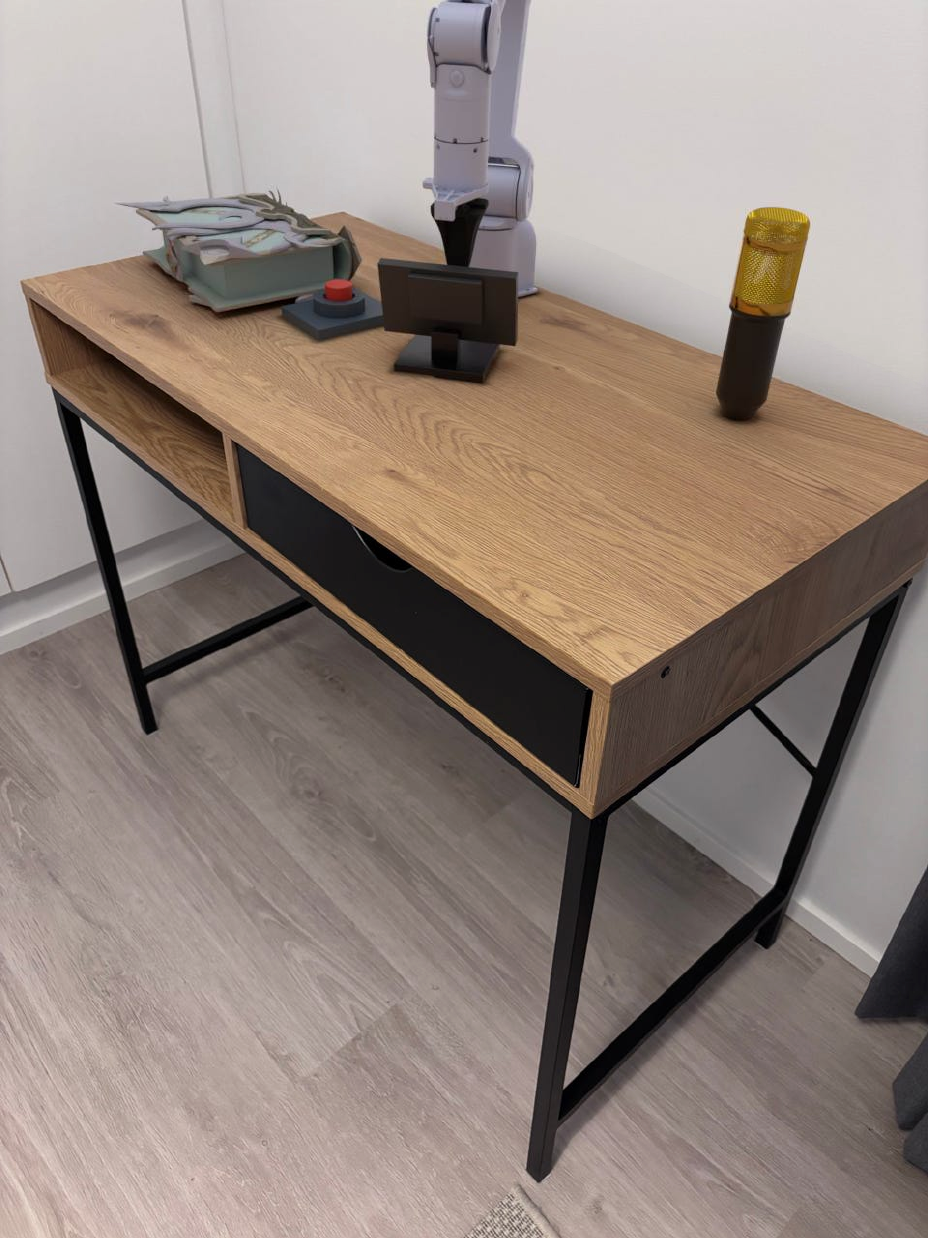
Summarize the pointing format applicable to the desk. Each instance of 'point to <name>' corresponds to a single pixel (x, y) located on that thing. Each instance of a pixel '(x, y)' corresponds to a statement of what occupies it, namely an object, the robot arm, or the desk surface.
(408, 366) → the monitor stand
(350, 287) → the power button
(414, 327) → the screen
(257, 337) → the desk surface
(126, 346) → the desk surface
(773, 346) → the microphone
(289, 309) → the switch box
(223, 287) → the ornate book
